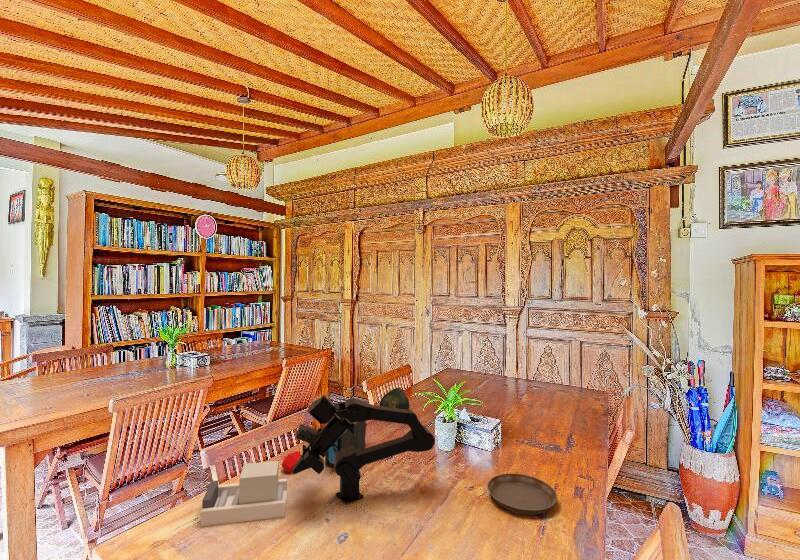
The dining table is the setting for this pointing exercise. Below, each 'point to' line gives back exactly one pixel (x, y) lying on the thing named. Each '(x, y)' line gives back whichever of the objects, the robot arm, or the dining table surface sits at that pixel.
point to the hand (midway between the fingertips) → (293, 472)
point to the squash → (395, 399)
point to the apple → (290, 461)
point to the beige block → (259, 482)
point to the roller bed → (243, 506)
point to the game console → (347, 442)
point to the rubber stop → (210, 495)
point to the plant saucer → (522, 493)
